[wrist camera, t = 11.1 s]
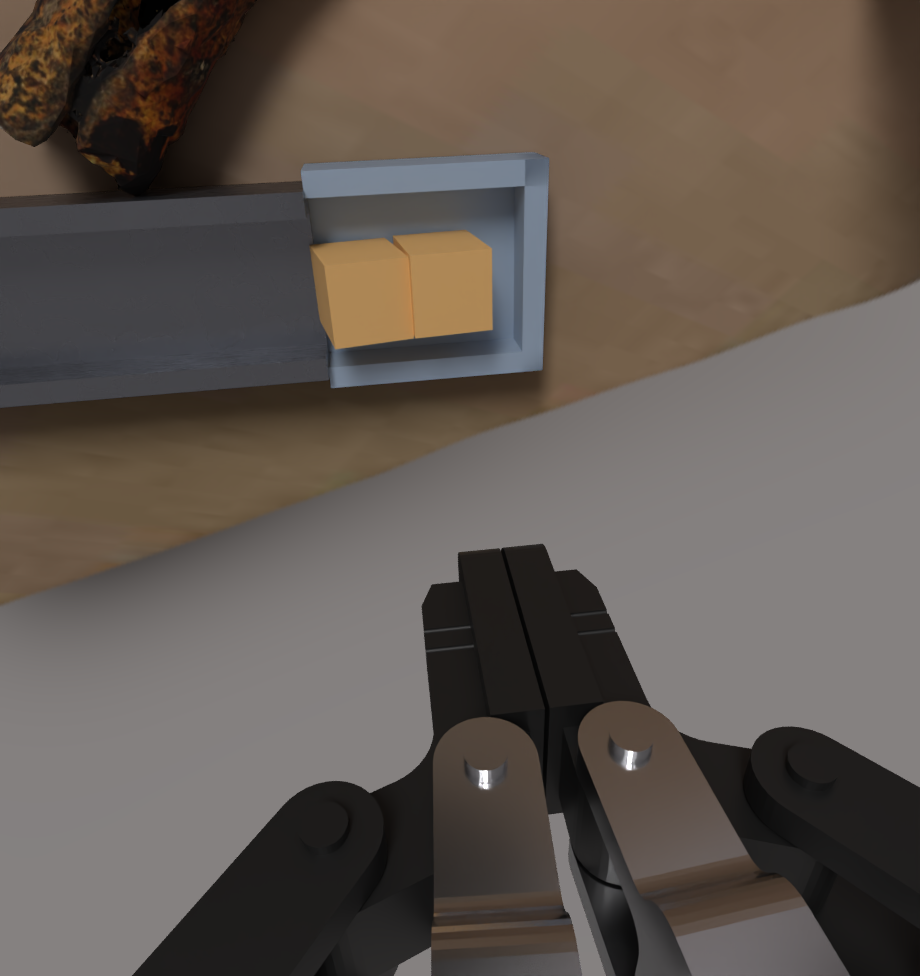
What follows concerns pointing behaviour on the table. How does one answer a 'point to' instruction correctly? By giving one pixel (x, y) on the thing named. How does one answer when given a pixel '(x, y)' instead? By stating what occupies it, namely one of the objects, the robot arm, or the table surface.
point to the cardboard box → (448, 282)
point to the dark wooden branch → (114, 76)
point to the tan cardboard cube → (362, 292)
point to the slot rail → (157, 293)
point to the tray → (436, 208)
